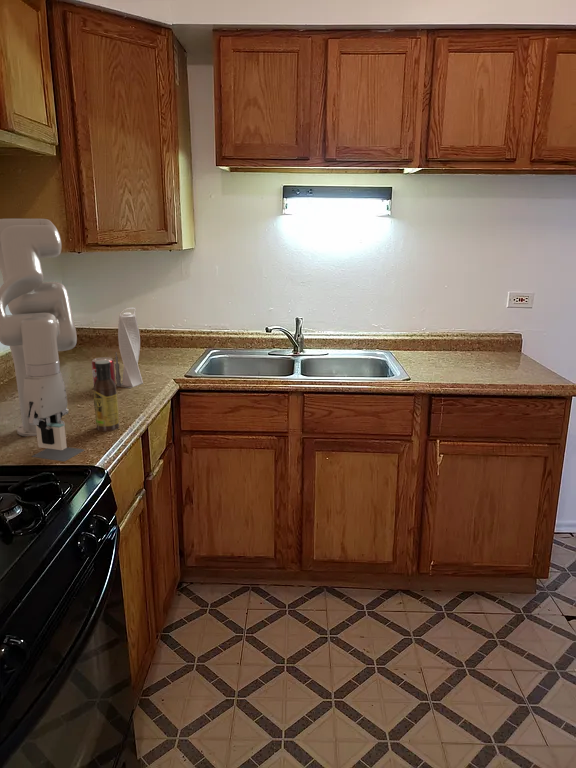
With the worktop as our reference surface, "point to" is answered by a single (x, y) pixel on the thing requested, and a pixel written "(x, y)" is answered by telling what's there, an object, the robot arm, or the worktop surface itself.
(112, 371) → the soda can
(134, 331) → the skyscraper
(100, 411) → the sauce bottle
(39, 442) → the cream tile
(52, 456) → the rubber mat
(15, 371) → the robot arm
